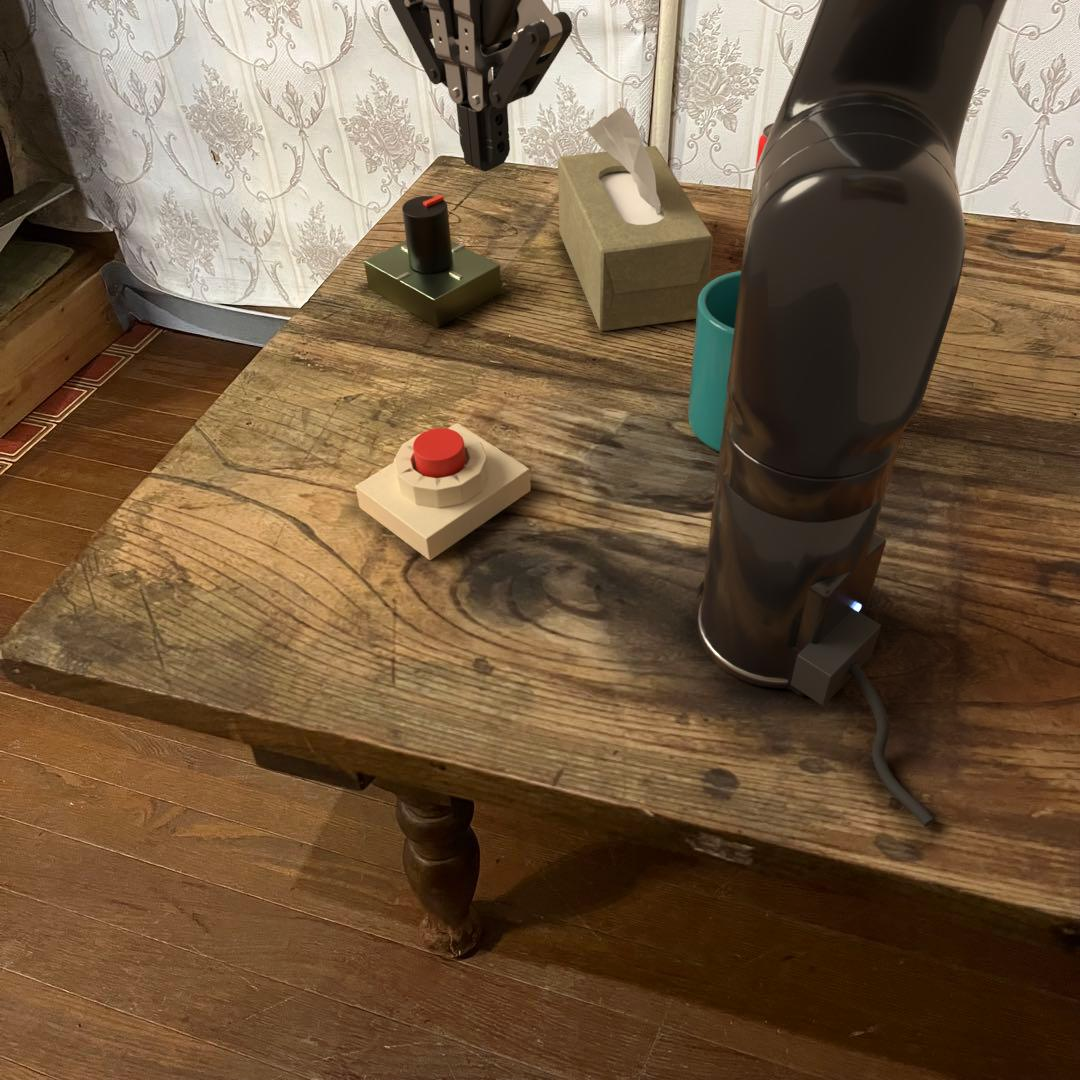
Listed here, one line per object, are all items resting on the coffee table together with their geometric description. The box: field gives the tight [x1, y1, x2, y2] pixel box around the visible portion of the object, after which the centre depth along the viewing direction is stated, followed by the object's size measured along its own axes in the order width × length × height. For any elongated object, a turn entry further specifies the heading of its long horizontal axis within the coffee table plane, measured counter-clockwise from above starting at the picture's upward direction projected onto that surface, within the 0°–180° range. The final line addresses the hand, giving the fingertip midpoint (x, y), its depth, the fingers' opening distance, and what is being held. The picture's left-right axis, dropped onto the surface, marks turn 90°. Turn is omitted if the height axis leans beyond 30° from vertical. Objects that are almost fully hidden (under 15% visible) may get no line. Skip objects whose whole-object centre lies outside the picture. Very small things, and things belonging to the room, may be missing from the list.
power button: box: [413, 427, 466, 478], centre depth 74 cm, size 4×4×2 cm
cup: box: [687, 270, 741, 453], centre depth 77 cm, size 9×12×11 cm
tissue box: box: [557, 106, 714, 332], centre depth 93 cm, size 19×10×16 cm, turn 11°
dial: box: [401, 194, 453, 273], centre depth 93 cm, size 4×4×6 cm
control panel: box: [363, 239, 502, 329], centre depth 96 cm, size 10×8×3 cm
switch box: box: [354, 422, 532, 561], centre depth 76 cm, size 8×10×4 cm
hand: (486, 163), depth 62 cm, fingers closed
